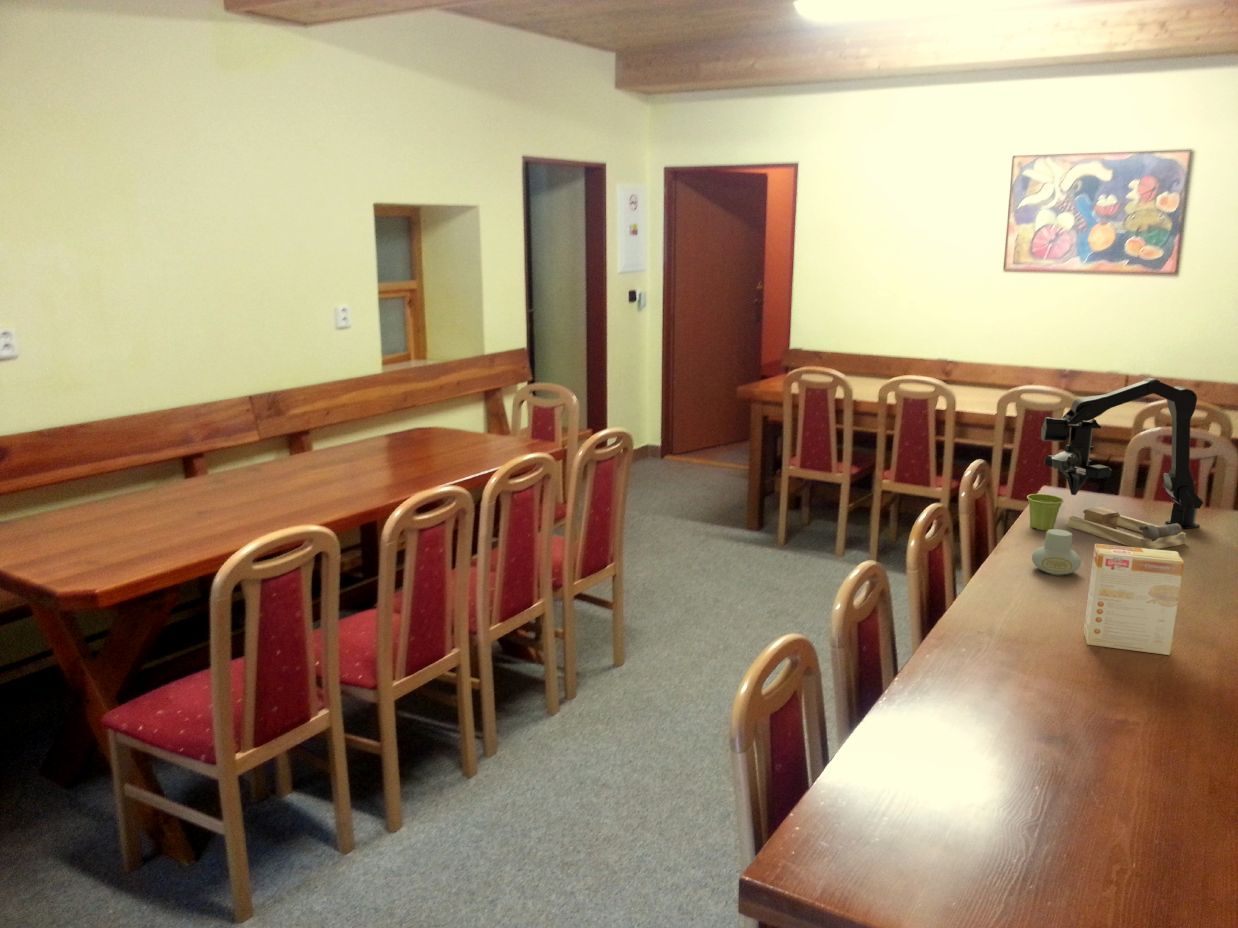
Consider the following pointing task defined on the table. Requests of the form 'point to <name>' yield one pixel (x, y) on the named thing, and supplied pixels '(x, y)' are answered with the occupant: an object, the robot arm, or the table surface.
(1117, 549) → the coffeecake box
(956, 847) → the table surface
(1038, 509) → the plant pot
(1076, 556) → the air freshener
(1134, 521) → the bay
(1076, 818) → the table surface
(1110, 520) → the box
